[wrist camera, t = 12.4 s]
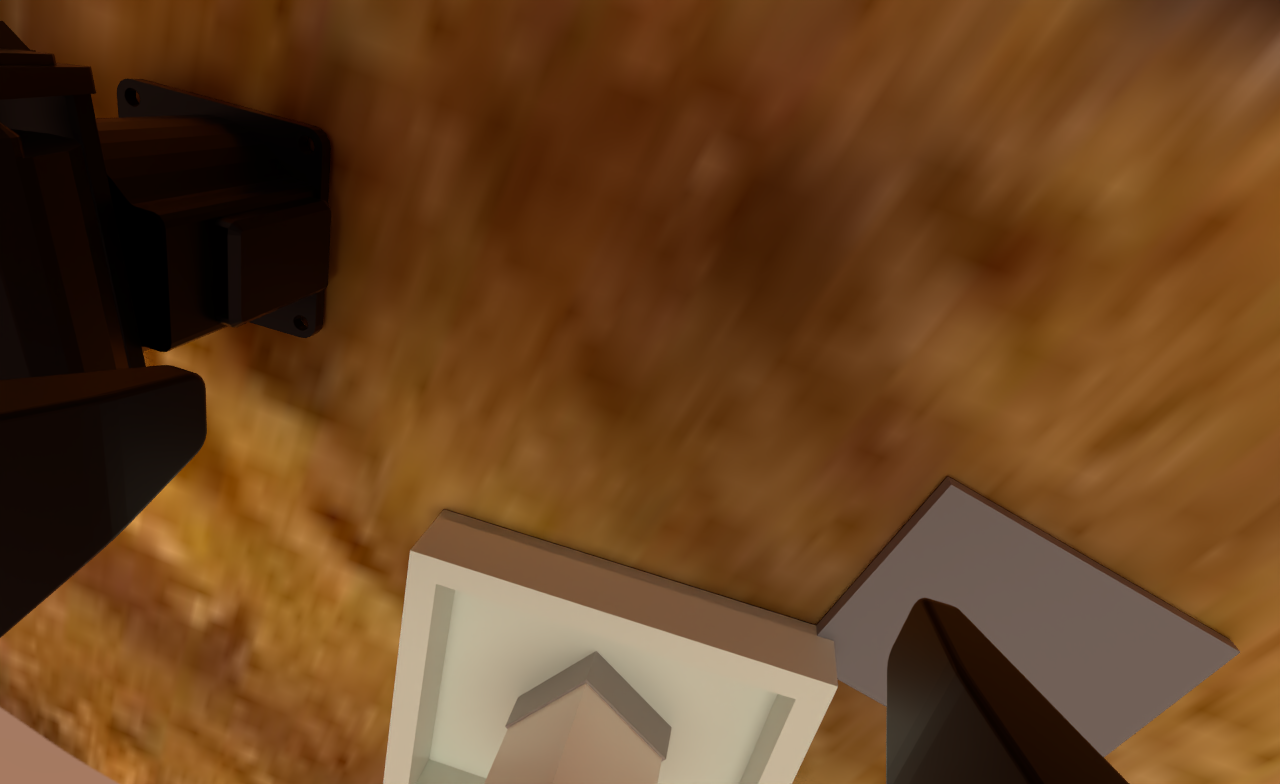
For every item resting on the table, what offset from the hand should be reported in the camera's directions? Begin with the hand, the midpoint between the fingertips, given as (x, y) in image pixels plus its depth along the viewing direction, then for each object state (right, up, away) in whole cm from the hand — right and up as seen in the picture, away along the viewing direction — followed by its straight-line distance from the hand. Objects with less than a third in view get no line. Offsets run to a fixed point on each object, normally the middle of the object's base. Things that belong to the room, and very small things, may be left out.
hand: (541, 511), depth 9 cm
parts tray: (0, -10, +19) cm, 21 cm away
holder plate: (+13, -7, +14) cm, 20 cm away
